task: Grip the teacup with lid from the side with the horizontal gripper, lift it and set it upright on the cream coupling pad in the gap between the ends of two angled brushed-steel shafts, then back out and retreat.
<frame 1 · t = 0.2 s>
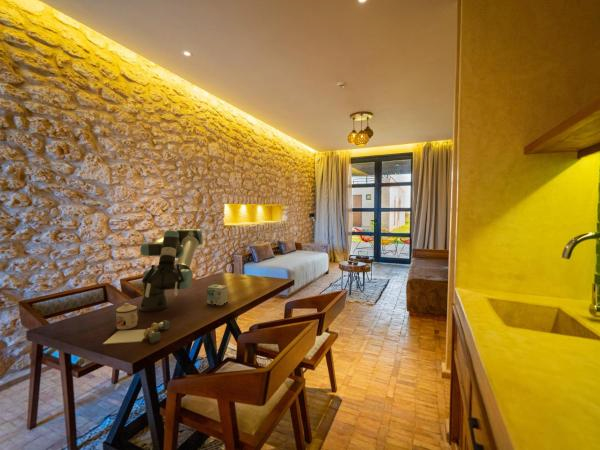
hand: (161, 295, 140), 15 cm above the table, tool tilted 35°, fingers open, 13 cm apart
left steel shaft: (160, 330, 134), on the table
coupling pad: (129, 336, 127), on the table
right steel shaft: (152, 340, 123), on the table
teacup with lid: (129, 327, 138), on the table
light bulb box: (217, 303, 175), on the table
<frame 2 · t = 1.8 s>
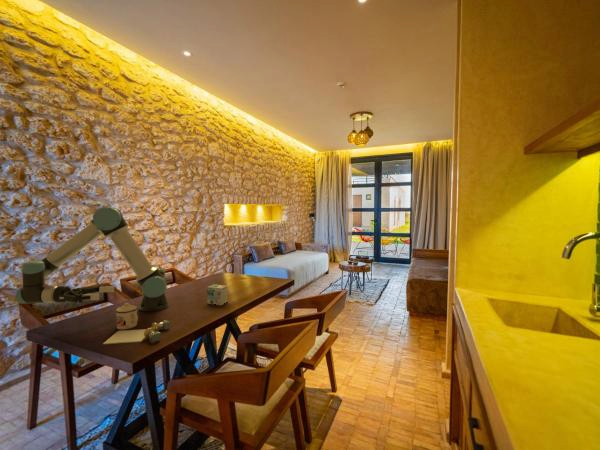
hand: (106, 292, 136), 17 cm above the table, tool horizontal, fingers open, 13 cm apart
nothing on the table moved.
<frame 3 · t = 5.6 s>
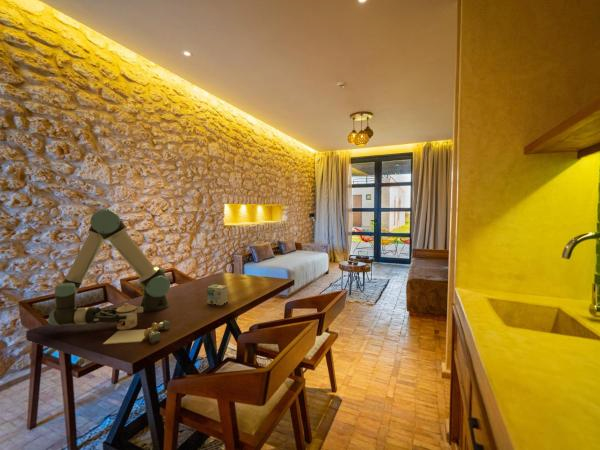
hand: (138, 312, 138), 7 cm above the table, tool horizontal, fingers closed on teacup with lid, 9 cm apart
teacup with lid: (128, 327, 137), on the table, touching gripper
everything else where it was.
when the fingers open (8 cm above the table, at t = 11.6 s): teacup with lid moves 3 cm, resting on coupling pad.
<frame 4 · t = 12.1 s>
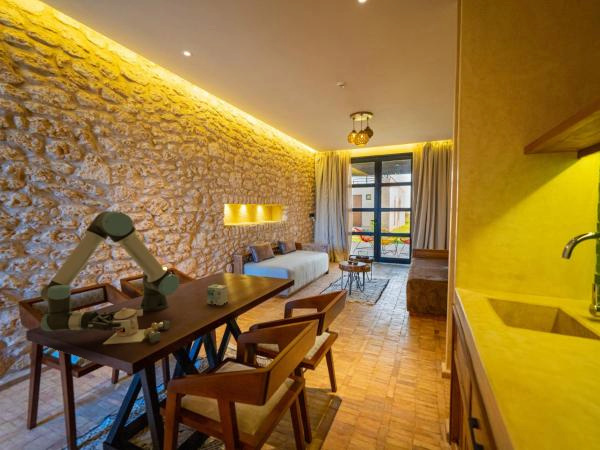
hand: (136, 317, 127), 8 cm above the table, tool horizontal, fingers open, 13 cm apart
teacup with lid: (129, 332, 129), point 1 cm above the table, touching coupling pad, gripper
everything else where it was.
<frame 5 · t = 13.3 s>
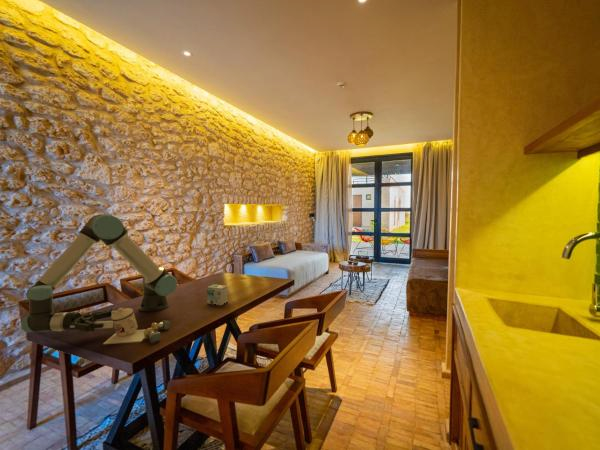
hand: (120, 318, 125), 9 cm above the table, tool horizontal, fingers open, 13 cm apart
teacup with lid: (129, 331, 129), point 1 cm above the table, touching coupling pad
everything else where it was.
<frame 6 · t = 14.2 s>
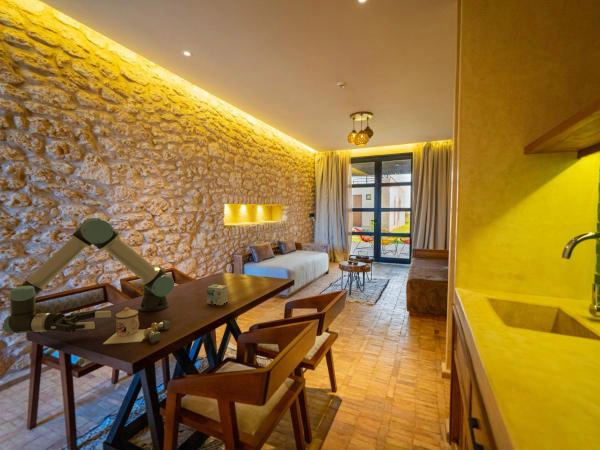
hand: (102, 319, 125), 9 cm above the table, tool horizontal, fingers open, 13 cm apart
teacup with lid: (129, 333, 129), resting on coupling pad
everything else where it was.
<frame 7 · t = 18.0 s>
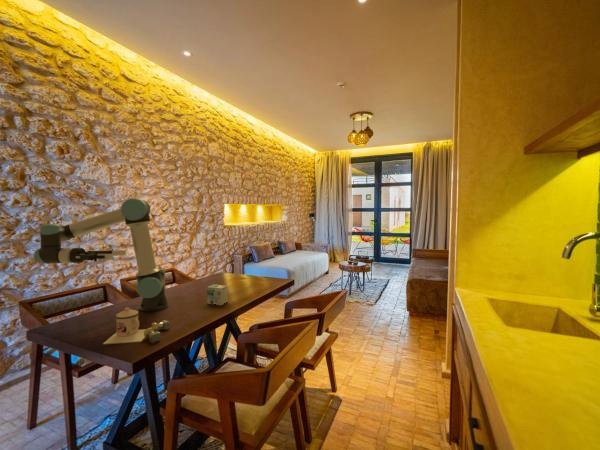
hand: (119, 254, 142), 35 cm above the table, tool horizontal, fingers open, 13 cm apart
nothing on the table moved.
at the end: teacup with lid 2.8 cm off-centre on the coupling pad, point 0.2 cm above the coupling pad's base; teacup with lid tilted 0°; the gripper is holding nothing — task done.
